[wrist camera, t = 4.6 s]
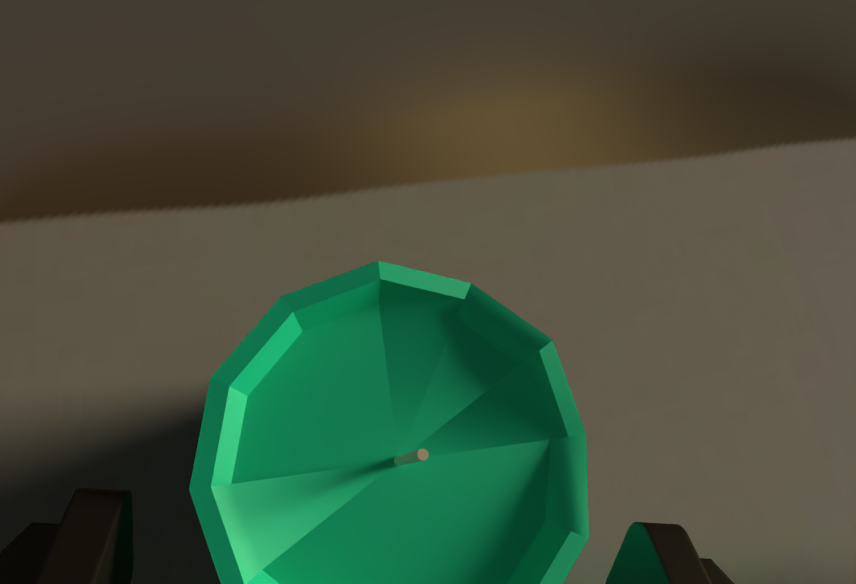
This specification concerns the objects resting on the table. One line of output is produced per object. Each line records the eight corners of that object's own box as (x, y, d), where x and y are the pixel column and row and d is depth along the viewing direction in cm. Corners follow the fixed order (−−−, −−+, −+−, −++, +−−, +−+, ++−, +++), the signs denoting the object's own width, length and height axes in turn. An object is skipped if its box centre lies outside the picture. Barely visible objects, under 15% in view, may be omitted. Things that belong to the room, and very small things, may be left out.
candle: (401, 625, 20) (564, 802, 9) (192, 539, 20) (73, 606, 8) (478, 416, 22) (697, 336, 10) (289, 334, 21) (301, 155, 10)
